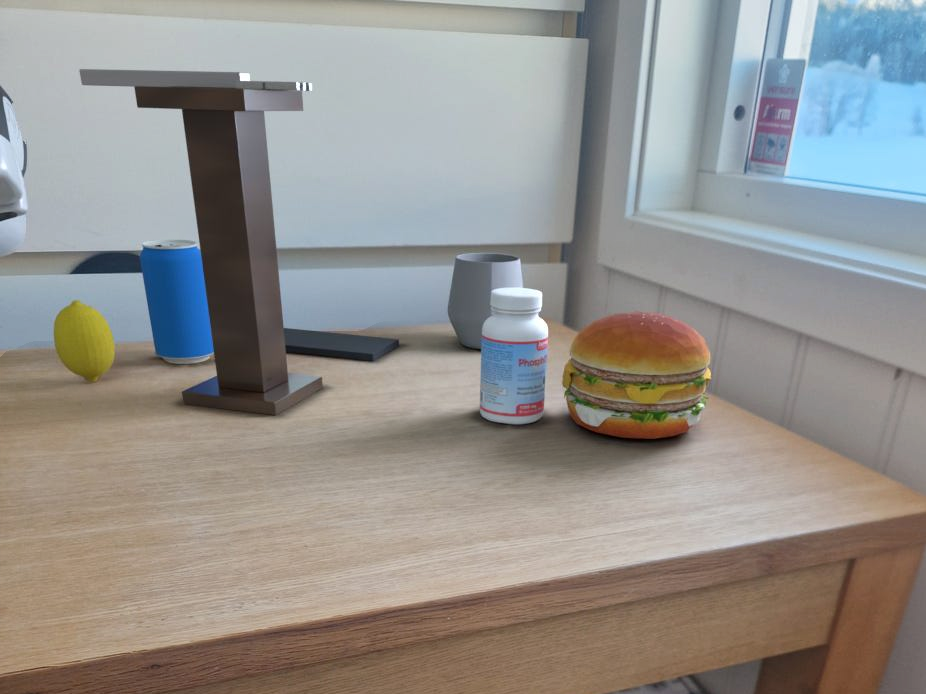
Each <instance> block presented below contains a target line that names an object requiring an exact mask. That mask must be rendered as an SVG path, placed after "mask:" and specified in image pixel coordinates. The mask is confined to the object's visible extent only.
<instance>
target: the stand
mask: <svg viewBox="0 0 926 694" xmlns="http://www.w3.org/2000/svg"><path fill="white" fill-rule="evenodd" d="M134 94H135V101H136V107H137V109H161V110H162V109H163V110H164V109H165V110H166V109H167V110H181V113H182V121H183V129H184V138H185V144H186V153H187V159H188V166H189V176H190V179H191V180H190V181H191V189H192V197H193V204H194V213H195V219H196V220H195V221H196V228H197V235H198V242H199V250H200V252H201V258H202V266H203V274H204V281H205V289H206V296H207V304H208V311H209V319H210V327H211V334H212V342H213V349H214V353H213V356H214V364H215V371H216V372H215V373H216V375H214V376H213V377H211V378H209V379H205V380H203V381H202V382H200V383H198V384H195V385H193V386H191V387H189V388H186V389H184V390H182V391H181V396H182V397H181V398H182V404H184V405H190V406H199V407H207V408H215V409H222V410H231V411H240V412H246V413H247V412H248V413H254V414H263V415H271V416H278V414H280V413H282V412H284V411H286V410H287V409H289V408H291V407H293V406H294V405H296V404H298V403H299V402H301V401H303V400H305V399H307V398H308V397H309V396H311V395H313V394H314V393H317V392H318V391H321V389H323V388H324V386H323V376H321V375H314V374H313V375H311V374H304V373H295V372H289V371H288V362H287V352H286V349H285V337H284V328H285V326H284V318H283V306H282V294H281V284H280V271H279V262H278V261H279V260H278V251H277V250H278V249H277V238H276V227H275V217H274V206H273V205H274V204H273V195H272V193H273V192H272V183H271V172H270V162H269V161H270V160H269V150H268V139H267V129H266V128H267V127H266V116H265V112H304V102H303V101H304V99H303V91H285V90H259V89H228V88H188V87H149V86H134Z"/></svg>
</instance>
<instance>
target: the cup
mask: <svg viewBox="0 0 926 694" xmlns="http://www.w3.org/2000/svg"><path fill="white" fill-rule="evenodd" d="M450 283H451V284H450V290H449V297H448V301H447V309H446V311H447V316H448V318H449V321H450V323H451V326H452V329H453V330H454V332H455V335H456V337H457V339H458V341H459V343H460V344H461V345H463V346H465V347H466V348H470V349H476V350H481V343H482V327H483V324H484V322H485V321H486V320H487V319H488V318H489V317H491V316H493V310H492V309H491V305H490V301H491V291H492V290H494V289H499V288H524V282H523V273H522V265H521V258H520V257H519V256H517V255H513V254H507V253H500V252H499V253H498V252H470V253H463V254H458V255H456V256H455V259H454V265H453V271H452V278H451V282H450Z"/></svg>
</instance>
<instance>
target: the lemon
mask: <svg viewBox="0 0 926 694" xmlns="http://www.w3.org/2000/svg"><path fill="white" fill-rule="evenodd" d="M53 341H54V342H53V343H54V346H55V347H54V348H55V350H56V353H57V356H58V358H59V360H60V361H61V363H62V364H63V366H64V367H65V368H66V369H68V370H69V371H70V372H72V373H73V374H74V375H77V376H80V377H83V378H84V379H85V380H86V381H88V382H89V383H95V382H97V381H98V379H99V377H100V376H101V375H103V374H105V373H106V372H108V371H109V369H110V368H111V367H112V365H113V363H114V359H115V355H116V354H115V353H116V348H115V347H116V345H115V339H114V335H113V331H112V330H111V327H110V324H109V323H108V321H107V320H106V318H105V317H104V316H103V315H102V313H101V312H99V310H97V309H96V308H94V307H92V306H90V305H87V304H85V303H83V302H81V301H80V300H77V299H76V300H72V301H71V303H70V304H69V305H66V306H65V307H63V308H62V309H61V310H60V311H59V312H58V313H57V315H56V316H55V319H54V323H53Z"/></svg>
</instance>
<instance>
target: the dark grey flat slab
mask: <svg viewBox="0 0 926 694" xmlns="http://www.w3.org/2000/svg"><path fill="white" fill-rule="evenodd" d="M284 337H285V349H286V353H292V354H293V353H294V354H303V355H305V354H306V355H314V356H322V357H331V358H340V359H341V358H342V359H352V360H360V361H370V362H374V361H376V360H377V359H379V358H381V357H382V356H384V355H386V354H388V353H389V352H391V351H393V350H394V349H396V348H397V347H399V346H400V339H399V338H391V337H382V336H381V337H380V336H371V335H361V334H352V333H350V334H349V333H340V332H331V331H320V330H319V331H318V330H309V329H300V328H289V327H284Z"/></svg>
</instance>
